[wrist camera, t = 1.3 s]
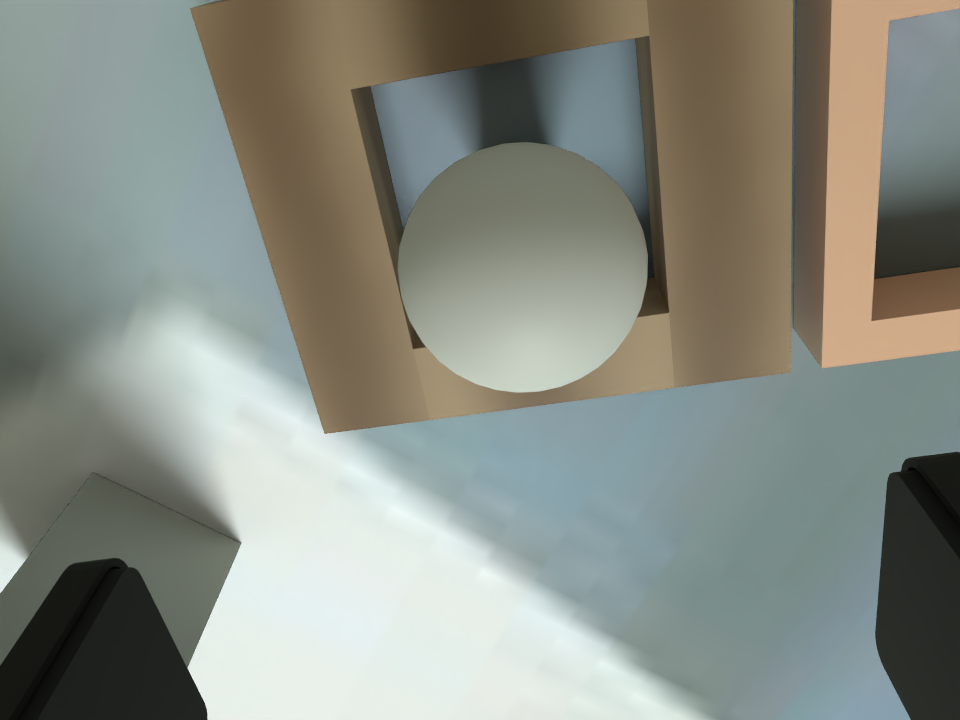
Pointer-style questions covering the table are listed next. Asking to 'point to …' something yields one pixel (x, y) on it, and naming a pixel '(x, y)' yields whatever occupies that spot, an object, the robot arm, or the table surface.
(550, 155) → the lightbulb
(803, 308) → the terracotta stand
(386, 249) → the walnut holder
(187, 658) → the perfume bottle
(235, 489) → the table surface
